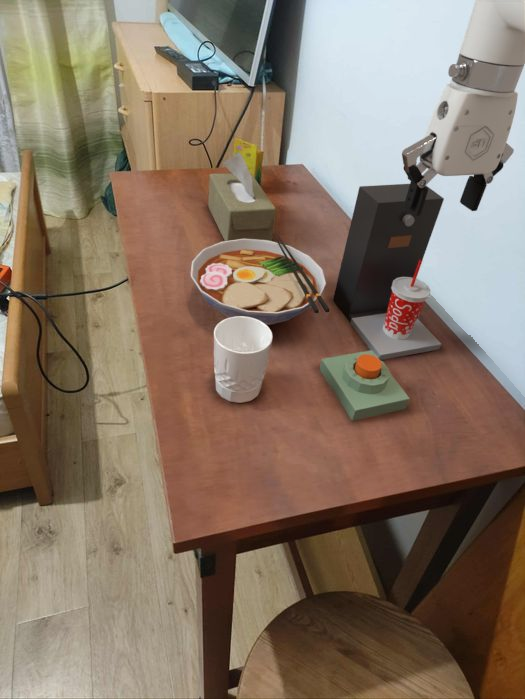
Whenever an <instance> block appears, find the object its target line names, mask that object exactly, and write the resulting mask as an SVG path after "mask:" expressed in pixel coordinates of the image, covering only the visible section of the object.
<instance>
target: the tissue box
mask: <svg viewBox="0 0 525 699" xmlns="http://www.w3.org/2000/svg"><path fill="white" fill-rule="evenodd" d="M222 163H223V165H224V166H225V168H226V169H227V170H228V171H229V172H230V173H210V174H209V179H208V206H207V207H208V209H209V211H210V214H211V215H212V218H213V220H214V222H215V224H216V226H217V228H218V230H219V232H220V235H221V236H222V239H223V240H224V241H231V240H237V239H256V240H268V241H272V242H273V237H274V235H273V233H274V229H275V222H276V213H277V209H276V207H275V205H274V204H273V203H272V201H271V200H270V198H269V197H268V195H267V194H266V192H265V191H264V190H263V188H262V186H260V185H259V184H258V182H257V181H256V180H255V178H254V177H253V175H252V174H251V173H250V172H249V170H248V168H247V166H246V163H245V161H244V159H243V157H242V155H241V154H240V153H238V154H236V155H235V156H234V157H233V156H230V157H229V158H228V159H227V160H224V161H223V162H222Z"/></svg>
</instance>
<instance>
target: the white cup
mask: <svg viewBox="0 0 525 699" xmlns="http://www.w3.org/2000/svg"><path fill="white" fill-rule="evenodd" d="M273 339H274V338H273V332H272V329H270V327H269V326H268V325H266V324H264V323H263V322H261V321H259V320H257V319H254V318H251V317H245V316H236V317H230V318H228V317H227V318H225V319H222V320H221V321H220V322H218V323H217V324H216V325H215V327H214V329H213V371H214V372H213V373H214V384H215V385H214V386H215V391H216V393H217V394H218V395H219V396H220V398H222V399H225V400H226V401H228V402H230V403H231V402H232V403H237V404H238V403H240V404H241V403H247V402H251V401H252V400H254V399H255V398H257V397H258V396H259V394H260V393H261V390H262V387H263V381H264V379H265V375H266V370H267V366H268V362H269V357H270V352H271V347H272V343H273Z"/></svg>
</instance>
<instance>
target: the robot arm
mask: <svg viewBox="0 0 525 699" xmlns="http://www.w3.org/2000/svg"><path fill="white" fill-rule="evenodd" d="M524 68H525V0H474V4H473V7H472V10H471V13H470V16H469V20H468V24H467V27H466V30H465V33H464V38H463V41H462V43H461V47H460V50H459V54H458V56H457V60H456V63H455V64H454V63H453V64H450V66H449V68H448V72H447V73H448V76H449V77H450V78H451V80H450V83H446V85H445V87H444V89H443V91H442V92H441V96H440V98H439V99H438V102H437V104H436V106H435V108H434V111H433V113H432V116H431V118H430V121H429V123H428V126H427V129H426V132H425V135H424V137H423V138H422V139H420V140H419V141H417V142H415V143H412V144H411V145H409V146H408V147H405V148H404V149H403V150H402V151H401V158H402V163H403V164H402V165H403V171H404V173H405V174H406V177H407V180H409V181H410V182H409V184H410V186H409V189H408V193H407V196H406V200H405V204H404V207H405V208H406V209H407V210H408V211H410V212H411V213H412V214H413V215H415V216H419V215H420V214H421V212H422V209H423V205H424V202H425V199H426V196H427V193H428V188H427V187H426V186H428V184H429V183H431V181H432V180H433V179H434V178H435V177H436V176H437V175H439V176H442V177H457V176H458V177H460V176H468V178H467V180H466V183H465V185H464V189H463V191H462V194H461V197H460V199H459V203H460V204H461V205H463V206H464V207H465V208H466V209H468V210H470V211H471V212H476V211H478V209H479V206H480V204H481V201H482V199H483V197H484V194H485V191H486V189H487V186H488V185H490V184H491V183H492V182H493V181H494V177H495V176H496V175H497V174H498V173H500V172H501V171H502V169H503V168H504V164H506V163H507V161H508V160H509V159H510V158H511V156H512V155H513V154H514V151H515V150H514V148H513V147H512V146H510V145H509V144H508V138H509V135H510V132H511V129H512V125H513V123H514V122H513V121H514V117H515V114H516V108H517V103H518V97H519V96H518V95H519V93H518V92H517V91H515V90H516V88H517V86H518V83H519V80H520V77H521V75H522V73H523V71H524V70H523V69H524ZM418 158H419V162H418V164H417V160H418Z"/></svg>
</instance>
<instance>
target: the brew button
mask: <svg viewBox="0 0 525 699" xmlns="http://www.w3.org/2000/svg"><path fill="white" fill-rule="evenodd" d="M381 361H382V360H381ZM381 361H380V360H379V359H378V358H377V357H375V356H372V355H368V354H365V355H361V356H359V357H358V359H357V362H356V365H355V372H356V373H357V375H359V376H361V377H362V378H365V379H375V378H377V377H378V375H379V373H380V370H381V367H382V364H381Z"/></svg>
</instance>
